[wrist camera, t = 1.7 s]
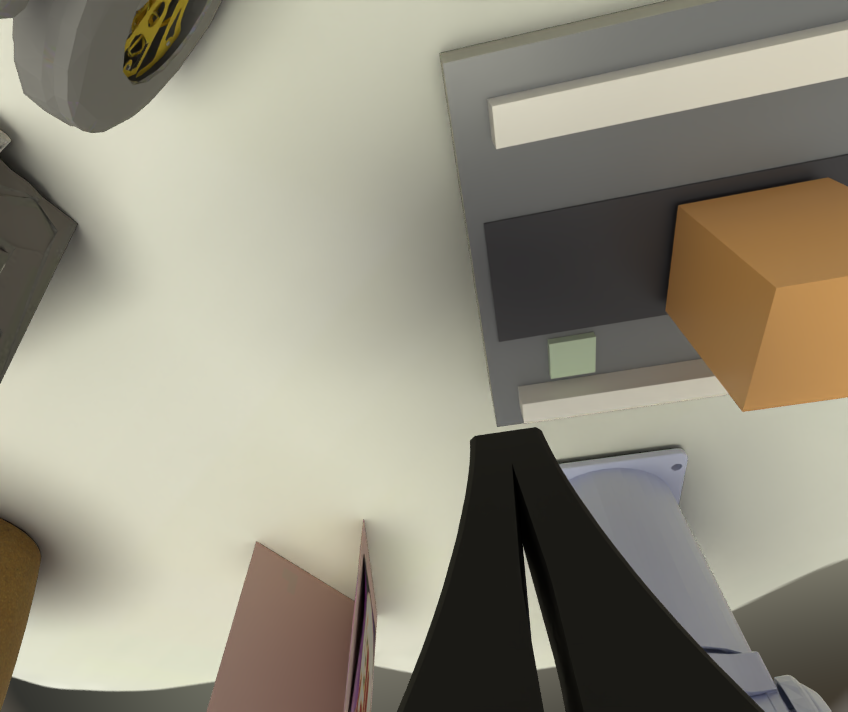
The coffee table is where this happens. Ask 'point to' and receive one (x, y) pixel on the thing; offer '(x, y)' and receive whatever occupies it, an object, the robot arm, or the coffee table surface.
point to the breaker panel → (626, 181)
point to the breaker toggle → (766, 291)
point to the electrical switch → (25, 254)
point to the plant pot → (14, 595)
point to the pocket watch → (102, 53)
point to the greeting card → (298, 642)
